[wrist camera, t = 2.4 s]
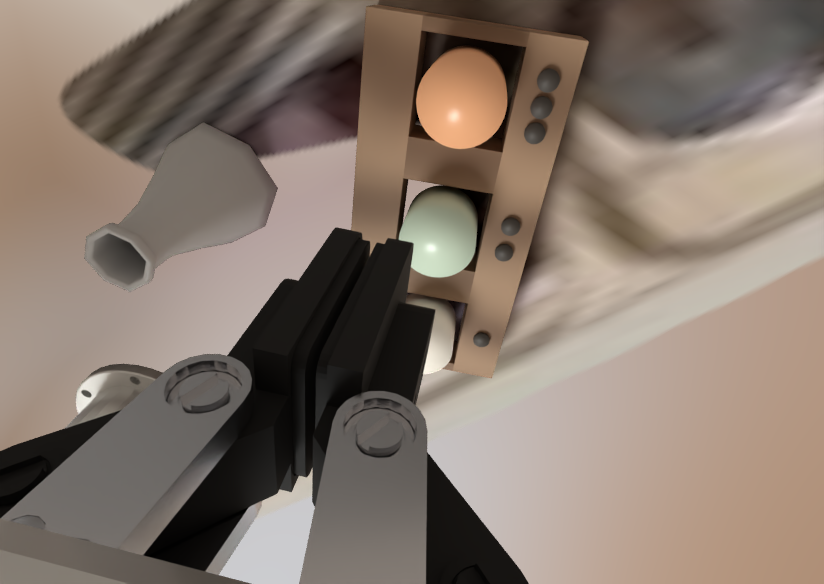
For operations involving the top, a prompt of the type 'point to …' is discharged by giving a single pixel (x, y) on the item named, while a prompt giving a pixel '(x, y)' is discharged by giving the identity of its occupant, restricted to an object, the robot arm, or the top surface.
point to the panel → (462, 161)
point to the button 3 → (462, 97)
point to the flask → (185, 207)
